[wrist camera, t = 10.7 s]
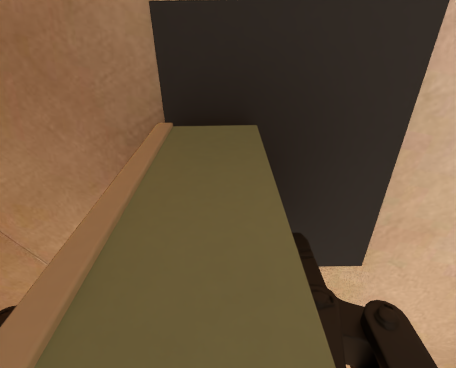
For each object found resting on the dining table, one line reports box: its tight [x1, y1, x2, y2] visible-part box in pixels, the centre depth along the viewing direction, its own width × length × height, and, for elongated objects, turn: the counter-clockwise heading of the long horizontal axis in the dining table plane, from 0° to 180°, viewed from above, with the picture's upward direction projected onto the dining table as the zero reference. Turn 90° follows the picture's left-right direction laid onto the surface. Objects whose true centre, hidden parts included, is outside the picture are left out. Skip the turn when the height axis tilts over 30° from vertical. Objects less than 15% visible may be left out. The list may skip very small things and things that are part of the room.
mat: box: [149, 0, 449, 266], centre depth 19 cm, size 20×16×1 cm
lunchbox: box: [0, 123, 336, 368], centre depth 11 cm, size 5×9×12 cm, turn 1°
